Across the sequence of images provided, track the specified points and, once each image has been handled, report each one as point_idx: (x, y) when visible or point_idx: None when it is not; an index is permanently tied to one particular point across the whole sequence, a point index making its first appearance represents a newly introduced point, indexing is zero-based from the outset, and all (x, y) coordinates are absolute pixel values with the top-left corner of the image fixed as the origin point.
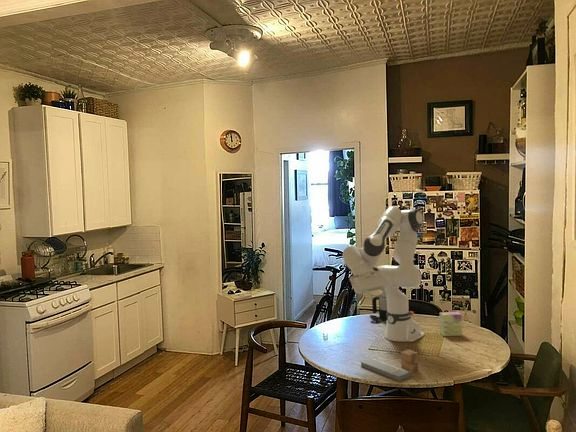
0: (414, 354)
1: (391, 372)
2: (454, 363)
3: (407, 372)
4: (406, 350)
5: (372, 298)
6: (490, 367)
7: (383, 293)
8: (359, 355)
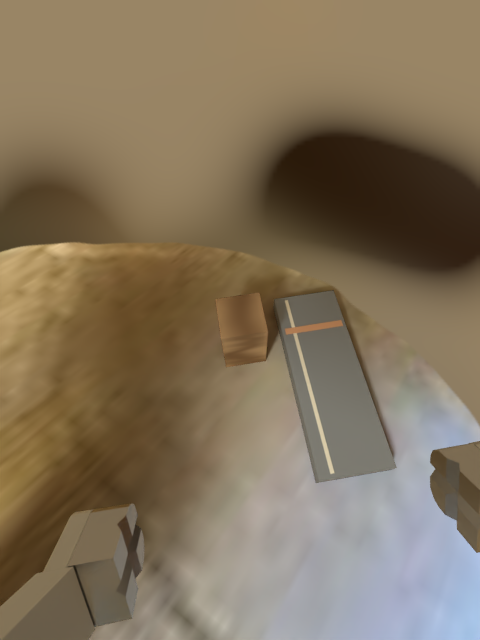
0: (233, 298)
1: (337, 320)
2: (81, 317)
3: (288, 300)
4: (235, 334)
5: (438, 465)
6: (37, 253)
7: (127, 553)
8: (332, 613)
